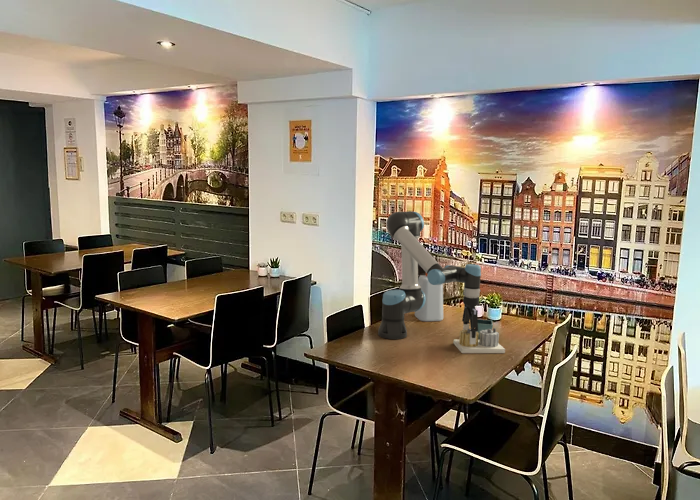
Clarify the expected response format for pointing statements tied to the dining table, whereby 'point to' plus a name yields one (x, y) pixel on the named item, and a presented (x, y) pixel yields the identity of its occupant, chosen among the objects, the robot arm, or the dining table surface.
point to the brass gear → (467, 339)
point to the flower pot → (484, 325)
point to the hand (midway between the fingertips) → (468, 340)
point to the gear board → (483, 343)
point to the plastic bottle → (431, 301)
